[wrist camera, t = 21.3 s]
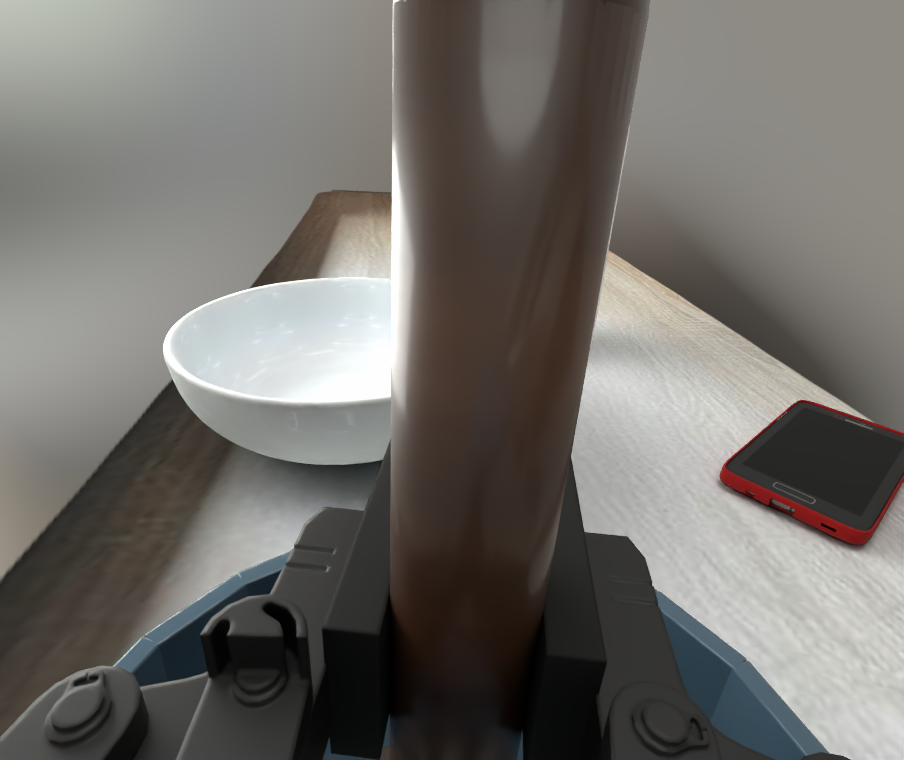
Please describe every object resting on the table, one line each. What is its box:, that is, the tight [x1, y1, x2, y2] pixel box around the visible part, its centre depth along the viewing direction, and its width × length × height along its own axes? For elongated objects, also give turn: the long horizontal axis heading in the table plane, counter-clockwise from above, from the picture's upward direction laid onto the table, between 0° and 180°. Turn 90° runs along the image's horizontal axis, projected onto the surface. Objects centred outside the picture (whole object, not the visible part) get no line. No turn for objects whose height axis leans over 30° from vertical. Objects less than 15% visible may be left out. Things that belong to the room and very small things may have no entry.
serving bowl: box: [163, 277, 392, 465], centre depth 37 cm, size 21×21×7 cm
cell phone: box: [720, 400, 904, 545], centre depth 35 cm, size 8×15×1 cm, turn 133°
